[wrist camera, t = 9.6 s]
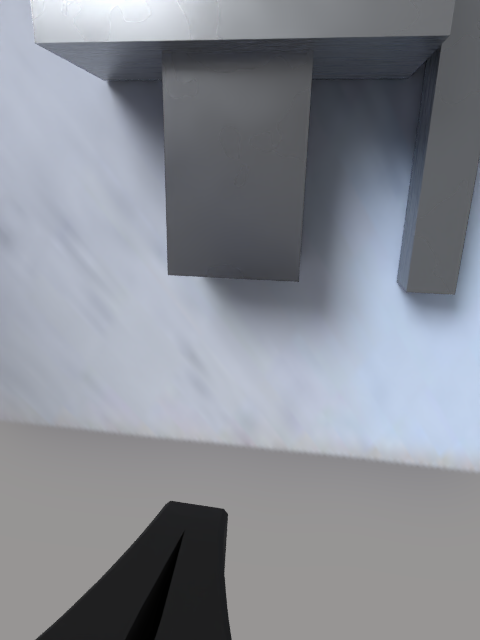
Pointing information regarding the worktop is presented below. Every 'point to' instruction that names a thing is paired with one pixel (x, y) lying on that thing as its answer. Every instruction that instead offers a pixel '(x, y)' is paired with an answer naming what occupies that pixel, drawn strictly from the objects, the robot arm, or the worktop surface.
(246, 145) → the sliding jaw
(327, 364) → the worktop surface
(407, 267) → the vise
